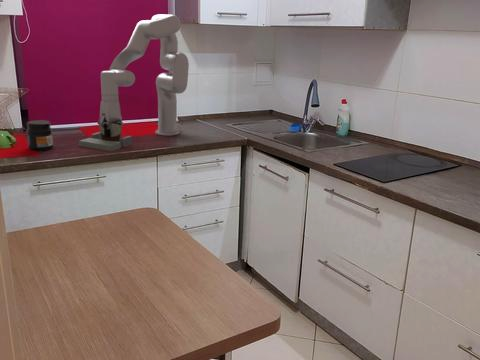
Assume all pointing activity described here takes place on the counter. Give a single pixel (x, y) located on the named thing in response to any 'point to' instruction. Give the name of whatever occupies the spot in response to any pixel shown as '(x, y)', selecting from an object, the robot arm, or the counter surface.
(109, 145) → the grey piece
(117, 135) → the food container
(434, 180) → the counter surface
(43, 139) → the supplement container
